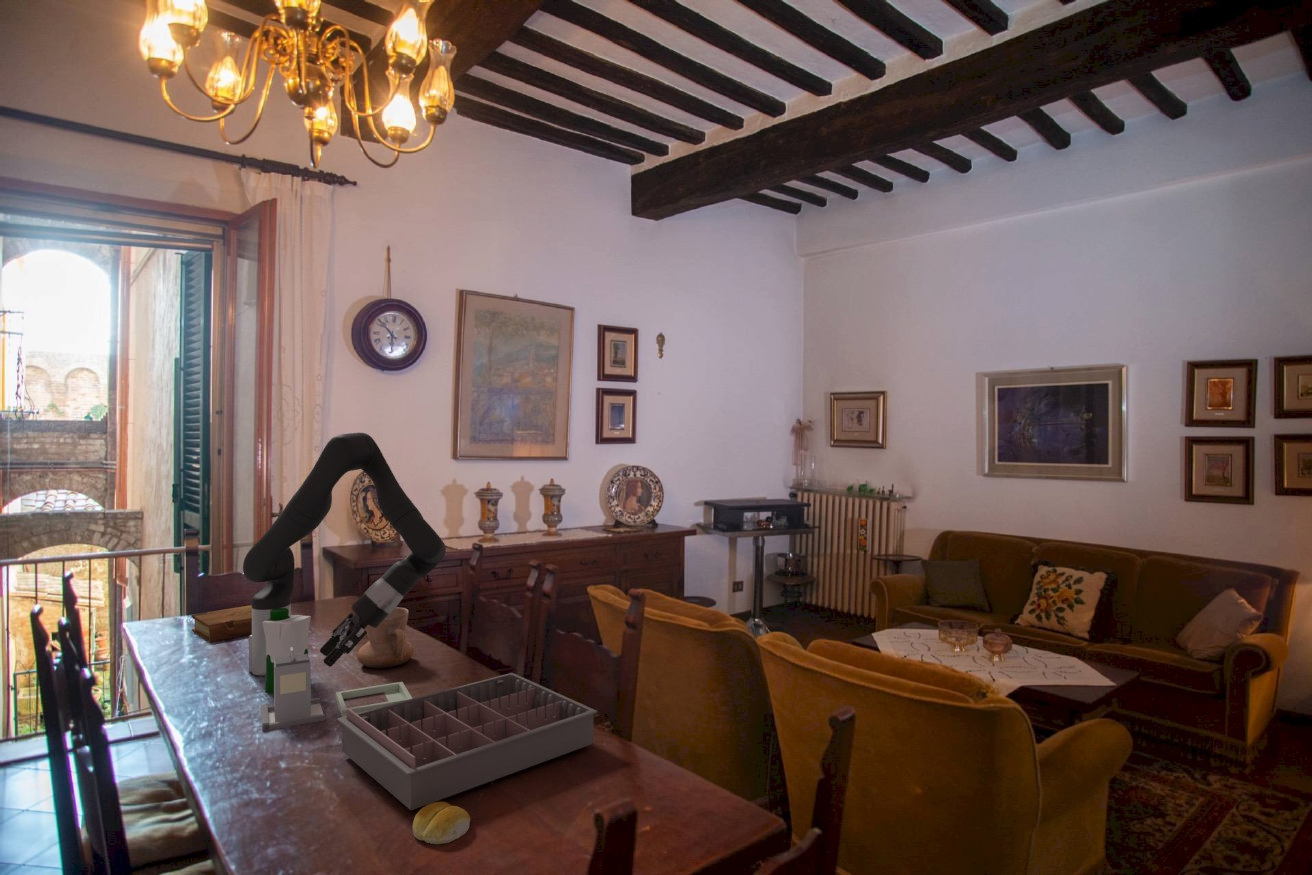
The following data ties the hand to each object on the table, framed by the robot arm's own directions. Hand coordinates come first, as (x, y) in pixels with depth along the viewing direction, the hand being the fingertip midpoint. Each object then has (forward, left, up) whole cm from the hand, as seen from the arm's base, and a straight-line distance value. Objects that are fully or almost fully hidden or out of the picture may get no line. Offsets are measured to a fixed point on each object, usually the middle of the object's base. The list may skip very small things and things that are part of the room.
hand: (324, 658), depth 167 cm
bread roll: (+52, -35, -13) cm, 64 cm away
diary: (-75, +51, -13) cm, 91 cm away
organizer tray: (+41, -9, -13) cm, 44 cm away
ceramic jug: (-9, +34, -13) cm, 38 cm away
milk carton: (-19, +9, -13) cm, 24 cm away
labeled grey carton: (-5, -5, -12) cm, 13 cm away
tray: (+7, +7, -13) cm, 16 cm away
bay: (-5, -5, -13) cm, 14 cm away
